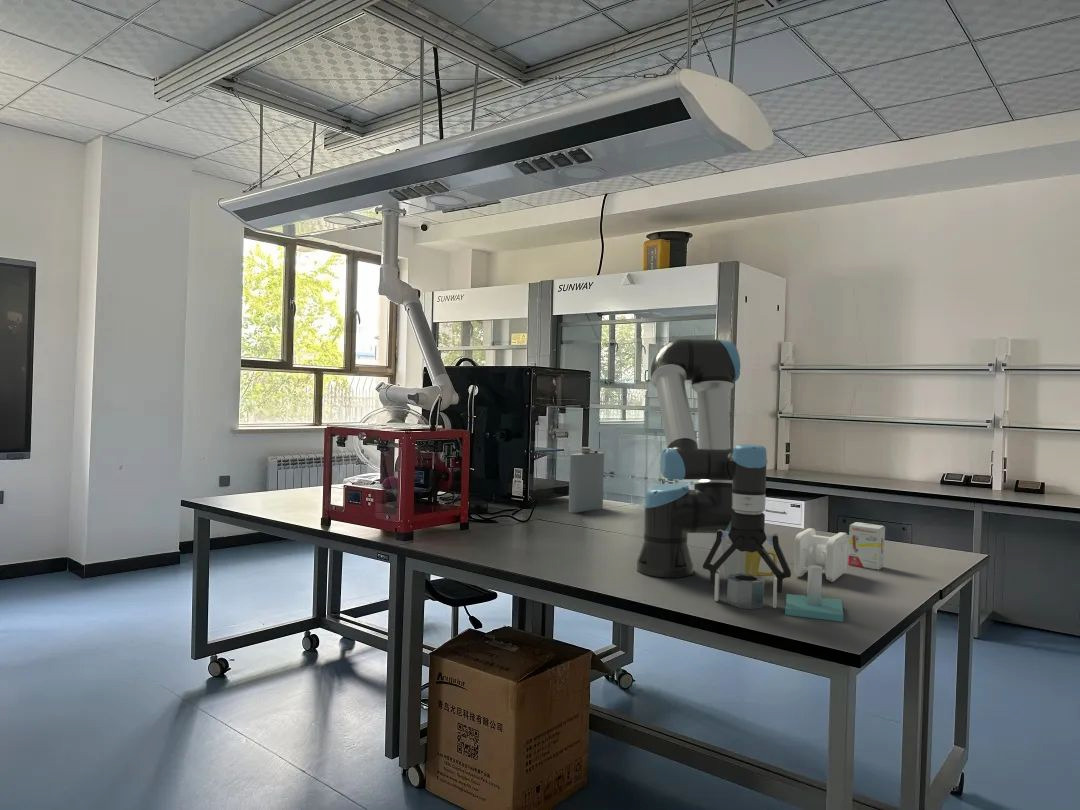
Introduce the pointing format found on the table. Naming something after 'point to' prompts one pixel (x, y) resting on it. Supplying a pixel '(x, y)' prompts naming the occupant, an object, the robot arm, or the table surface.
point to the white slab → (586, 480)
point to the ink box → (866, 545)
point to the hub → (745, 591)
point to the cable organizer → (821, 553)
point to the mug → (744, 561)
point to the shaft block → (814, 600)
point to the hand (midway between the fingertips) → (745, 603)
